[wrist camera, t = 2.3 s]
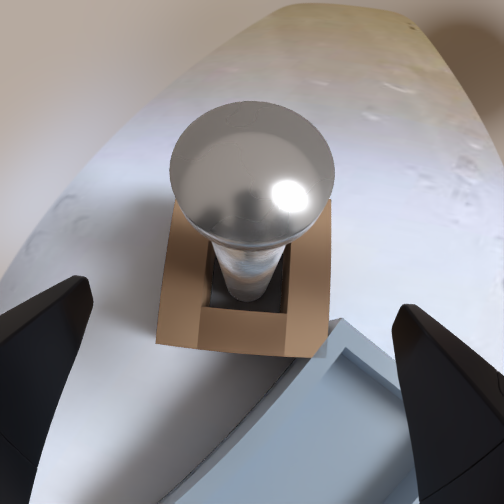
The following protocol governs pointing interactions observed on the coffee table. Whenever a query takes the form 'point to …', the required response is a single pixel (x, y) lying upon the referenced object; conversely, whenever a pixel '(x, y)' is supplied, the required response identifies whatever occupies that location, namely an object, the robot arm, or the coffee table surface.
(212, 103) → the coffee table surface
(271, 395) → the tray
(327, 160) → the metal pin
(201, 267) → the pin block
